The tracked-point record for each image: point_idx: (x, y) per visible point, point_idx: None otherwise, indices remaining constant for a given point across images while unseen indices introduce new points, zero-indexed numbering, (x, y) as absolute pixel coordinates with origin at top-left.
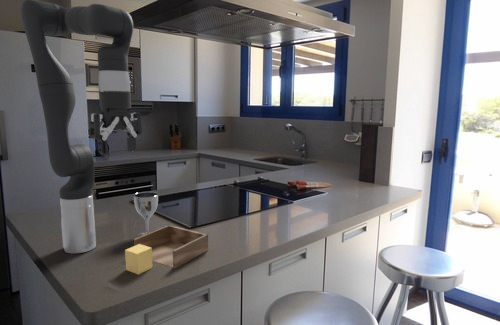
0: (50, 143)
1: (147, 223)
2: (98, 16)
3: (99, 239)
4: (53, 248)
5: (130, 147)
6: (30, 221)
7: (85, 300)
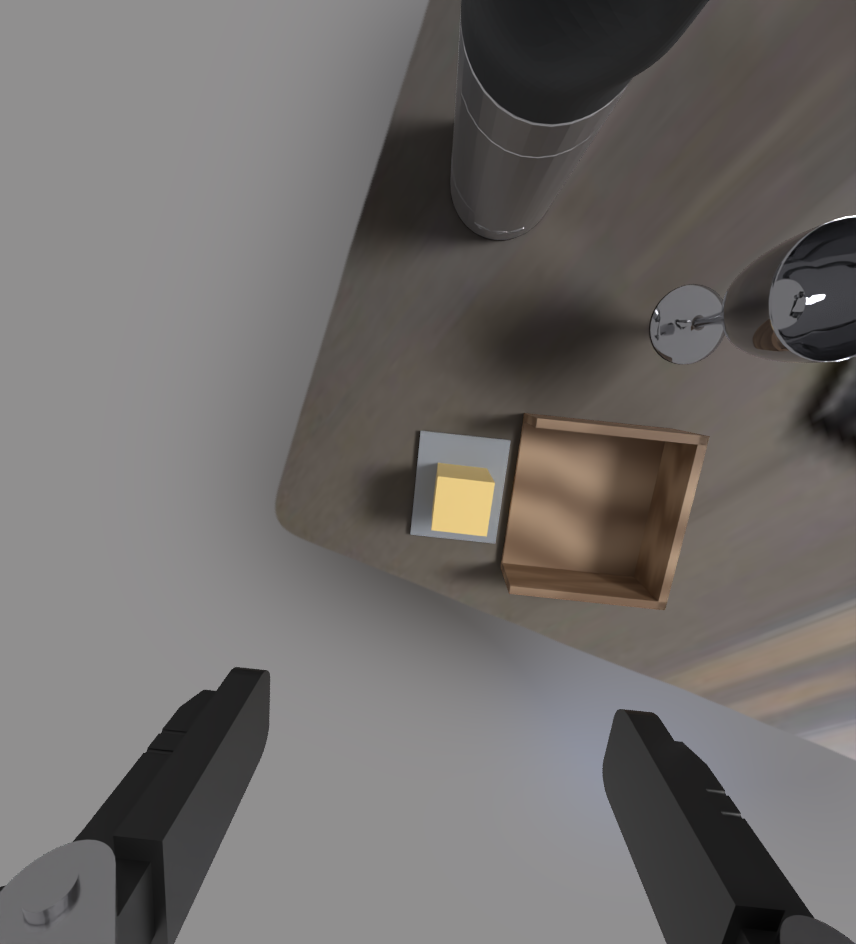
0: None
1: (717, 323)
2: None
3: (593, 176)
4: None
5: (628, 790)
6: None
7: (294, 480)
